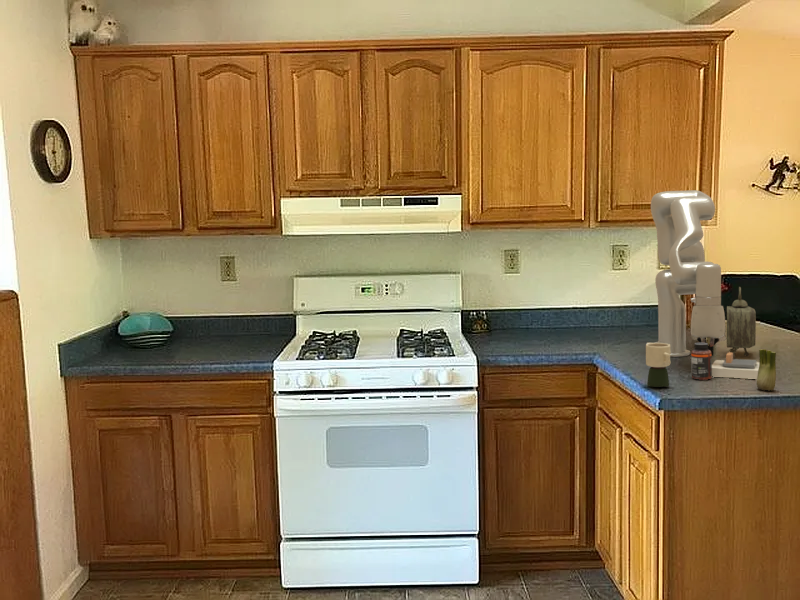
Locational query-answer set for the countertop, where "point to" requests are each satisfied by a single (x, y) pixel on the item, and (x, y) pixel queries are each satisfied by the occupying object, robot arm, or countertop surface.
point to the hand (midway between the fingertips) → (708, 357)
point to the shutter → (738, 362)
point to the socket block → (734, 371)
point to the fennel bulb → (766, 370)
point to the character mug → (658, 364)
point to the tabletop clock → (740, 326)
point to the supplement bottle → (701, 362)
